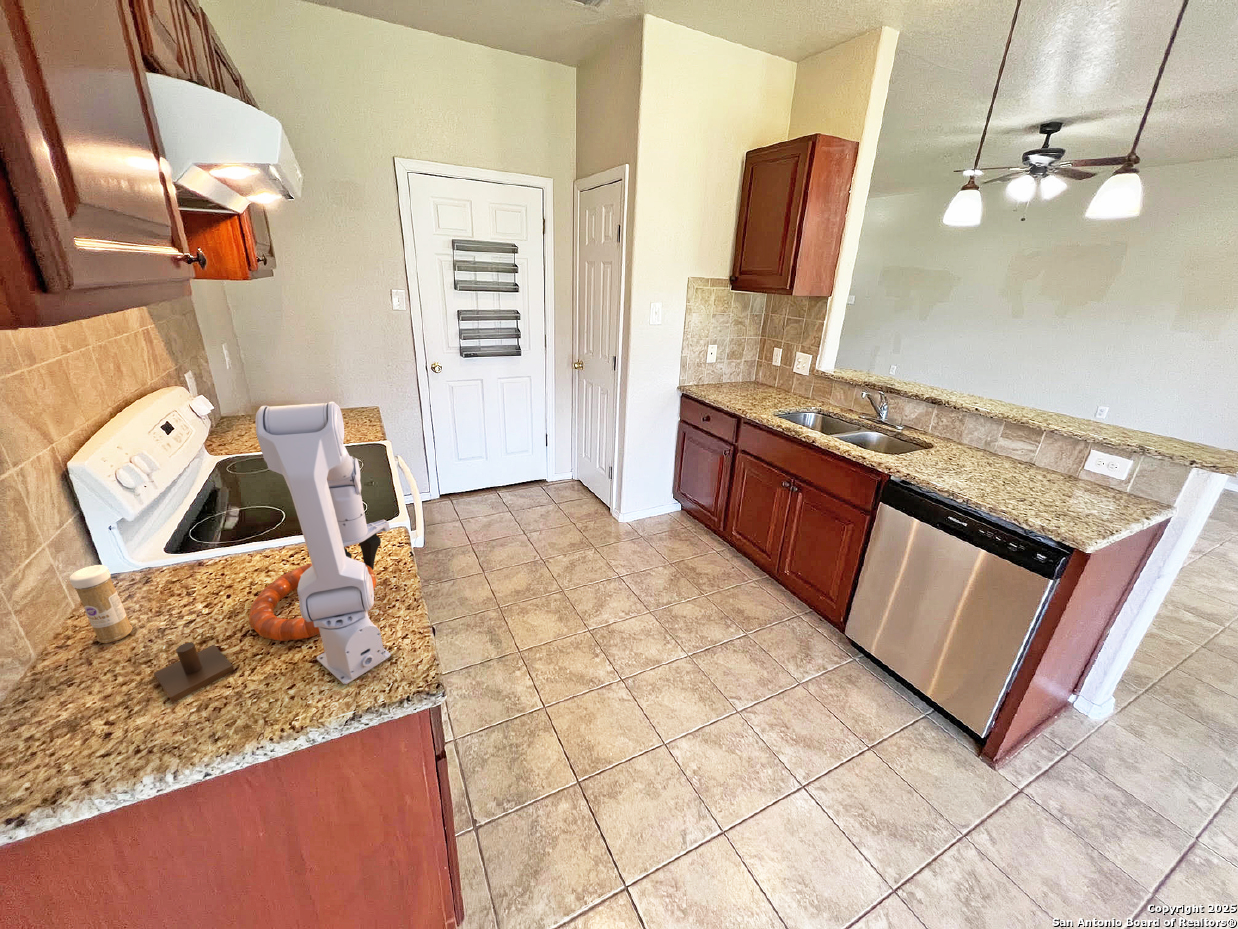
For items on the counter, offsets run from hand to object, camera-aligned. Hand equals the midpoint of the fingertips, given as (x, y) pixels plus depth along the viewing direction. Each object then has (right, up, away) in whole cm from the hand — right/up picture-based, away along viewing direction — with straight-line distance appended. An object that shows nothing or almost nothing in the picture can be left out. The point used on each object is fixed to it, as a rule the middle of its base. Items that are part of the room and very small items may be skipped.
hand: (359, 573), depth 101 cm
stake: (-15, -12, -22) cm, 29 cm away
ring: (-5, -3, -6) cm, 9 cm away
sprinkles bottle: (-36, -8, -14) cm, 39 cm away
